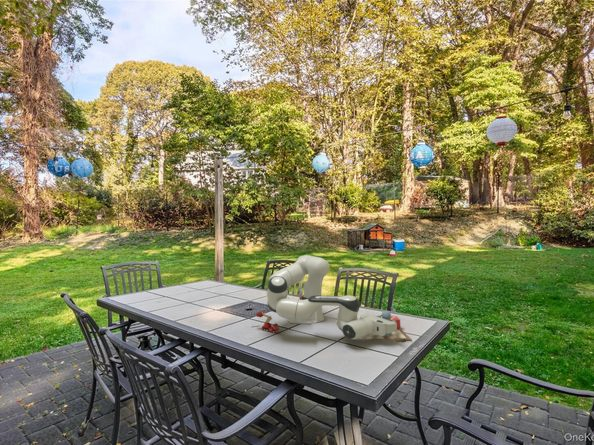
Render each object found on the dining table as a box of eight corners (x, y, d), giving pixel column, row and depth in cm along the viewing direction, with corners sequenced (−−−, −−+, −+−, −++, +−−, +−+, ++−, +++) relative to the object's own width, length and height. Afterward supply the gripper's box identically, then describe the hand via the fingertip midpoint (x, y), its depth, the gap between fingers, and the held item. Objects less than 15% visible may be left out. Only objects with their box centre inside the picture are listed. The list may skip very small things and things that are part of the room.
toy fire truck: (276, 333, 182) (276, 316, 182) (256, 329, 189) (256, 312, 189) (279, 331, 185) (279, 314, 185) (260, 327, 192) (259, 310, 192)
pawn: (382, 336, 174) (382, 312, 174) (379, 332, 180) (379, 309, 179) (393, 336, 175) (393, 312, 174) (389, 332, 180) (389, 309, 180)
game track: (346, 343, 169) (346, 341, 169) (340, 333, 183) (340, 330, 183) (411, 341, 171) (411, 339, 171) (401, 331, 185) (401, 329, 185)
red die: (389, 330, 187) (389, 319, 186) (386, 326, 193) (386, 316, 192) (400, 330, 187) (400, 319, 187) (396, 326, 193) (396, 315, 193)
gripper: (354, 325, 178) (372, 319, 186) (386, 337, 161) (403, 330, 170) (354, 313, 177) (372, 308, 186) (386, 324, 161) (403, 318, 169)
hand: (387, 319), depth 177 cm, fingers open, 8 cm apart
